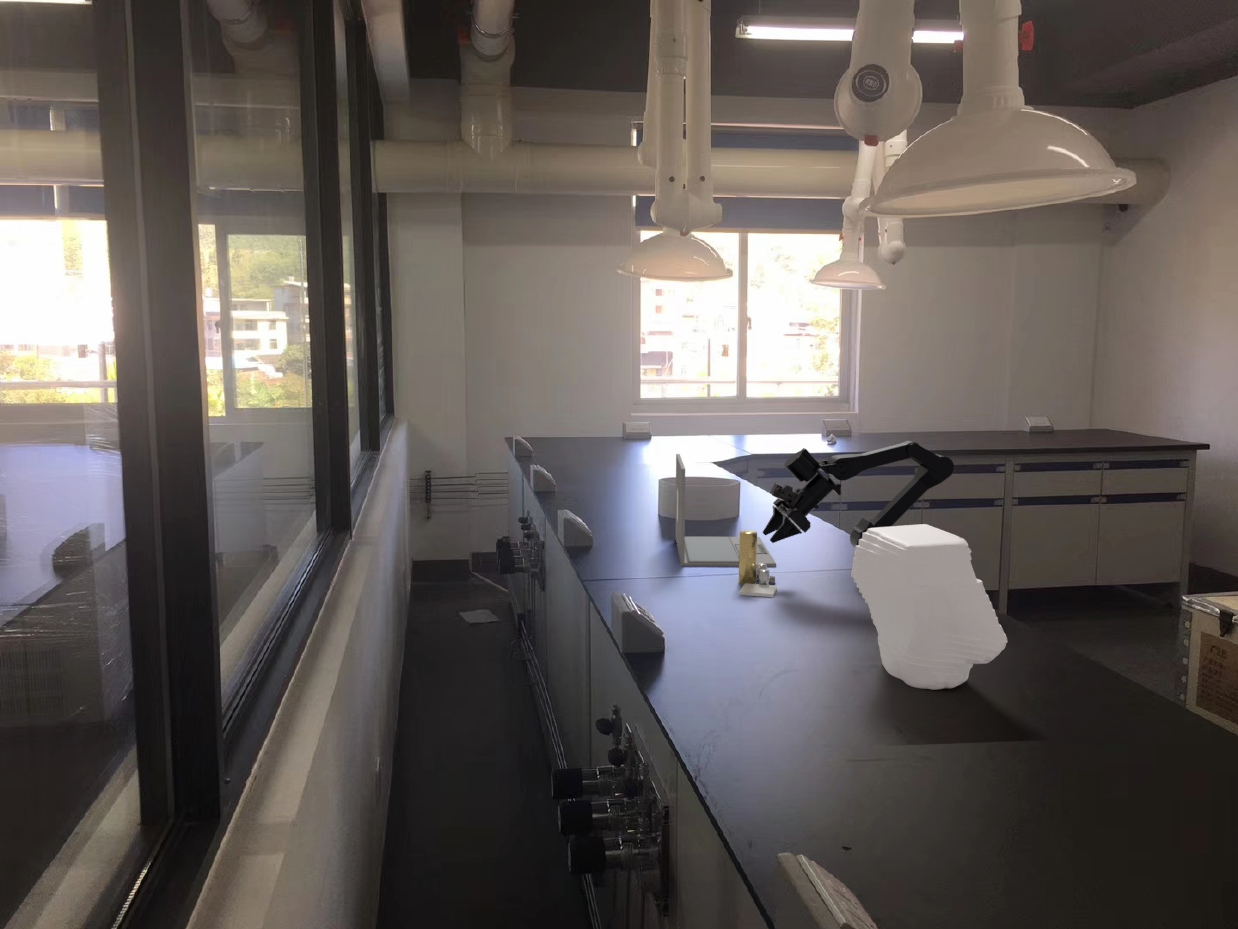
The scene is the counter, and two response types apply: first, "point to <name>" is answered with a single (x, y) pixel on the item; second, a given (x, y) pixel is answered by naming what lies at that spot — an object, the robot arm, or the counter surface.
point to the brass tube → (747, 557)
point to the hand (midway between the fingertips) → (767, 537)
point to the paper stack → (926, 604)
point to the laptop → (707, 538)
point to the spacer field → (764, 575)
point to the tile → (758, 590)
